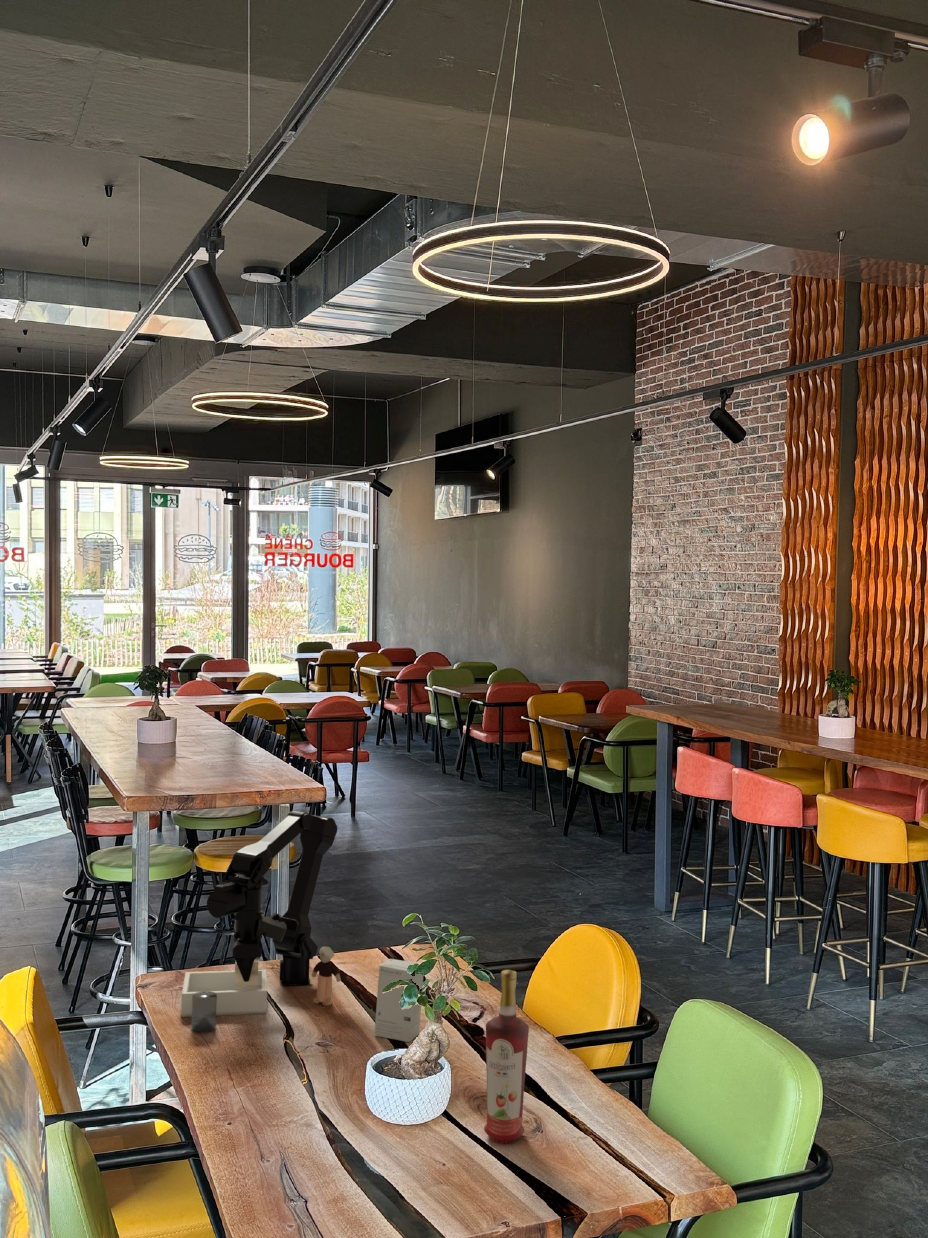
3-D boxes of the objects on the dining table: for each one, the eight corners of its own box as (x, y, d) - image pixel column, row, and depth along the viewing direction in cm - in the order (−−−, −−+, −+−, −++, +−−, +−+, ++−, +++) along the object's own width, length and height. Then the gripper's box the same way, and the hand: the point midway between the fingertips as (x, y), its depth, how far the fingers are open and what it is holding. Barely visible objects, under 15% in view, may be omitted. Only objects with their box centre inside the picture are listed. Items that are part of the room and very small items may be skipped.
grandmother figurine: (305, 1003, 244) (307, 947, 244) (312, 998, 248) (314, 942, 247) (337, 1008, 242) (338, 951, 242) (344, 1002, 245) (345, 946, 245)
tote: (265, 991, 251) (266, 969, 251) (266, 1013, 237) (266, 990, 237) (185, 994, 248) (185, 972, 248) (181, 1017, 234) (181, 994, 234)
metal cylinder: (216, 1023, 231) (217, 990, 231) (215, 1033, 226) (216, 999, 226) (191, 1024, 230) (192, 991, 230) (190, 1034, 225) (191, 1000, 225)
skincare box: (374, 1037, 226) (376, 965, 226) (385, 1026, 232) (387, 957, 232) (411, 1043, 223) (413, 971, 223) (422, 1033, 229) (424, 962, 229)
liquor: (529, 1131, 187) (534, 968, 187) (519, 1151, 180) (524, 982, 180) (488, 1124, 189) (493, 963, 189) (477, 1143, 182) (482, 976, 182)
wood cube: (235, 978, 245) (235, 956, 245) (257, 977, 246) (258, 955, 246) (234, 986, 240) (235, 963, 240) (257, 985, 241) (258, 963, 241)
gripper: (286, 918, 235) (284, 990, 236) (283, 895, 254) (282, 962, 254) (233, 920, 233) (231, 992, 234) (234, 897, 252) (233, 964, 252)
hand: (246, 977), depth 243 cm, fingers closed on wood cube, 5 cm apart
